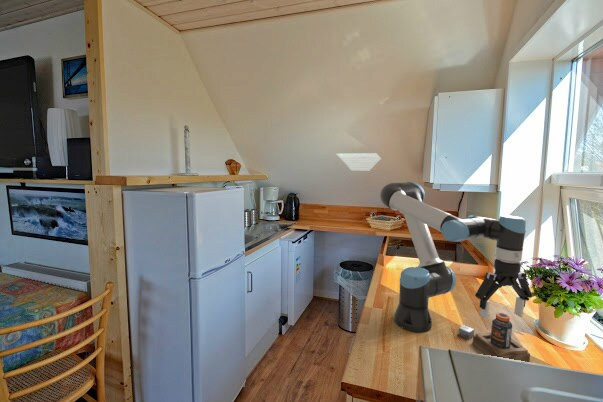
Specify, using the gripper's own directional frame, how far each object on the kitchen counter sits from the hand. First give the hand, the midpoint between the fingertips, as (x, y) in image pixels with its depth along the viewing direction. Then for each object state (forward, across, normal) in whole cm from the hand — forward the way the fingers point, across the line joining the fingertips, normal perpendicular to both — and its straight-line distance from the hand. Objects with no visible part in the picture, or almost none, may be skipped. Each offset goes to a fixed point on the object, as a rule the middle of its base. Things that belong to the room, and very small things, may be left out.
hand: (501, 316), depth 101 cm
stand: (+14, 0, -1) cm, 14 cm away
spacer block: (+14, -5, +10) cm, 18 cm away
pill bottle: (+11, 0, -1) cm, 11 cm away
